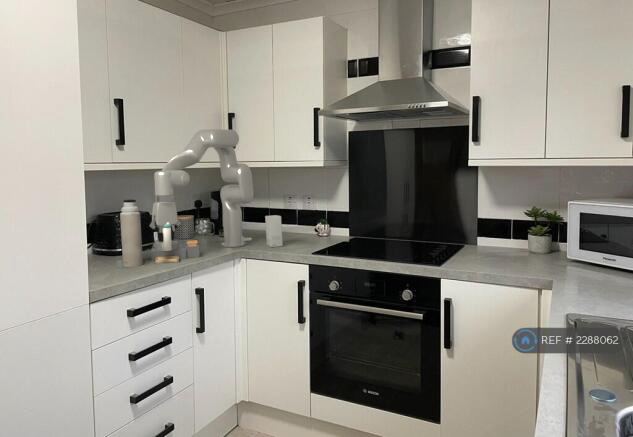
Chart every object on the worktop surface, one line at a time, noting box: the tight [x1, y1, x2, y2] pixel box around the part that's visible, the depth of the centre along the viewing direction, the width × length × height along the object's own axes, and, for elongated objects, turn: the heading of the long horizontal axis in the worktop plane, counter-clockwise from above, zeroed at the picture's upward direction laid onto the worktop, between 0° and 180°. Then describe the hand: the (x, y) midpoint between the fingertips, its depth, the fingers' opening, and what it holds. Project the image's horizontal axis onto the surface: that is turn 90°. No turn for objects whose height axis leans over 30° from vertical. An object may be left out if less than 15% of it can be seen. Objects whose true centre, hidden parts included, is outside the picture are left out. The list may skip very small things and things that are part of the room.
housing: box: [150, 240, 200, 261], centre depth 232 cm, size 21×10×7 cm, turn 104°
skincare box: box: [264, 214, 284, 248], centre depth 260 cm, size 8×7×16 cm
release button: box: [186, 239, 198, 247], centre depth 234 cm, size 5×5×6 cm
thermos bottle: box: [119, 199, 144, 268], centre depth 215 cm, size 8×8×28 cm
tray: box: [154, 256, 180, 265], centre depth 223 cm, size 10×8×2 cm
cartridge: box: [161, 222, 172, 251], centre depth 222 cm, size 5×5×13 cm
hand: (166, 240), depth 222 cm, fingers closed on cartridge, 4 cm apart
